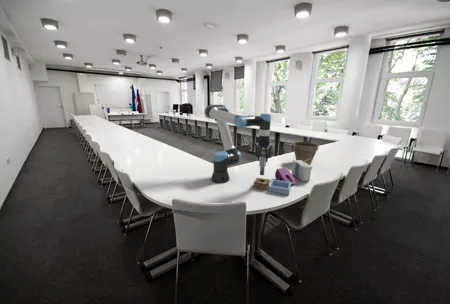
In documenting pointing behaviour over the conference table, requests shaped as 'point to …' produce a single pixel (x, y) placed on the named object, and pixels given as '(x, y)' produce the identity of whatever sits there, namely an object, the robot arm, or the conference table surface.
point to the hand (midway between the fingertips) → (262, 165)
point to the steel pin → (262, 163)
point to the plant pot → (305, 151)
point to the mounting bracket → (284, 175)
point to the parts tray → (280, 187)
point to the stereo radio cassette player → (301, 170)
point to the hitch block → (261, 183)
